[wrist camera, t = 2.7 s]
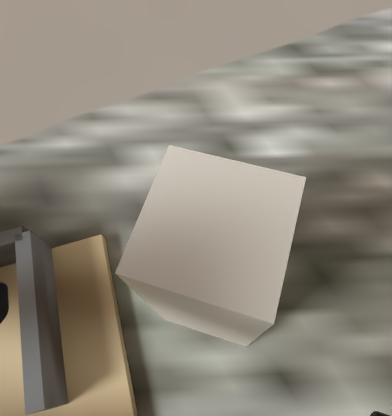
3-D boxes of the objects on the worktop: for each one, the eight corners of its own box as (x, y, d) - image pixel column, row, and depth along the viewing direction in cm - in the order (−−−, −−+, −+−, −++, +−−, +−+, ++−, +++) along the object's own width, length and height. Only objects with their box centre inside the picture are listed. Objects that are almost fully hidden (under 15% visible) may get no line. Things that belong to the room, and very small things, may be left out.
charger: (246, 346, 18) (274, 323, 9) (165, 319, 19) (115, 273, 10) (266, 263, 20) (307, 173, 11) (191, 242, 20) (170, 141, 11)
